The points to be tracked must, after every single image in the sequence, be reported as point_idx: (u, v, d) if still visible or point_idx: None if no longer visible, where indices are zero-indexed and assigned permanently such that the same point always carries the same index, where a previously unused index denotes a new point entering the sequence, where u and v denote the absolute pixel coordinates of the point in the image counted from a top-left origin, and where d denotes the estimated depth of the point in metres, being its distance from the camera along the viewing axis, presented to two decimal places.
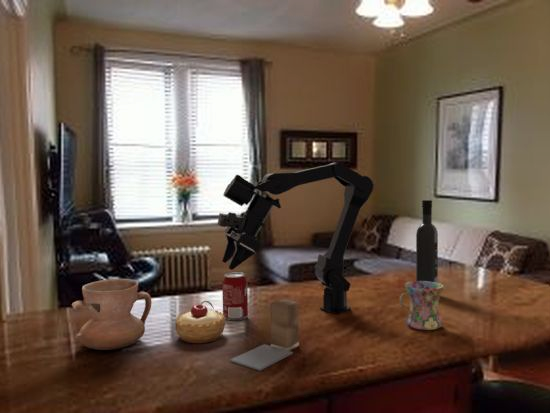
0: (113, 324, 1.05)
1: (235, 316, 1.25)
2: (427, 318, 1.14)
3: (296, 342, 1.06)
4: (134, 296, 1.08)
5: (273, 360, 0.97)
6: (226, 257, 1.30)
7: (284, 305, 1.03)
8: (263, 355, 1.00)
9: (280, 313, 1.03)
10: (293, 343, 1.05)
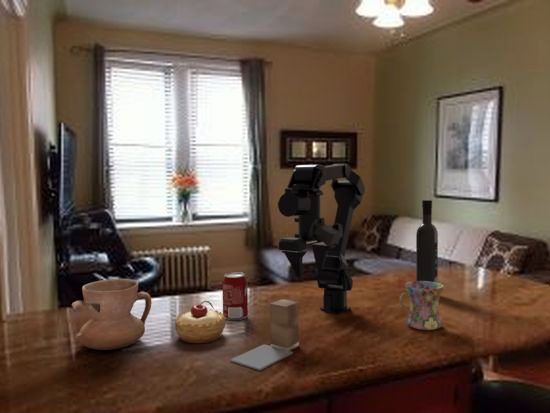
0: (113, 324, 1.05)
1: (235, 316, 1.25)
2: (427, 318, 1.14)
3: (296, 342, 1.06)
4: (134, 296, 1.08)
5: (273, 360, 0.97)
6: None
7: (284, 305, 1.03)
8: (263, 355, 1.00)
9: (280, 313, 1.03)
10: (293, 343, 1.05)
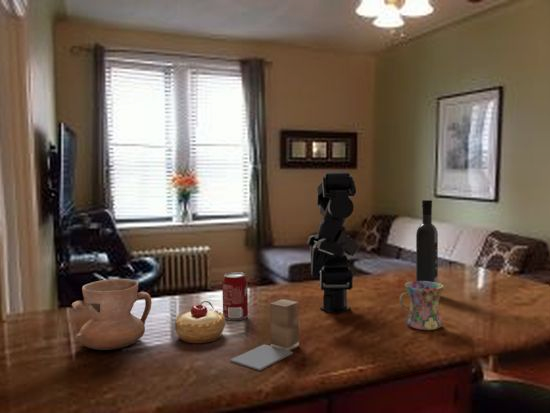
0: (113, 324, 1.05)
1: (235, 316, 1.25)
2: (427, 318, 1.14)
3: (296, 342, 1.06)
4: (134, 296, 1.08)
5: (273, 360, 0.97)
6: None
7: (284, 305, 1.03)
8: (263, 355, 1.00)
9: (280, 313, 1.03)
10: (293, 343, 1.05)
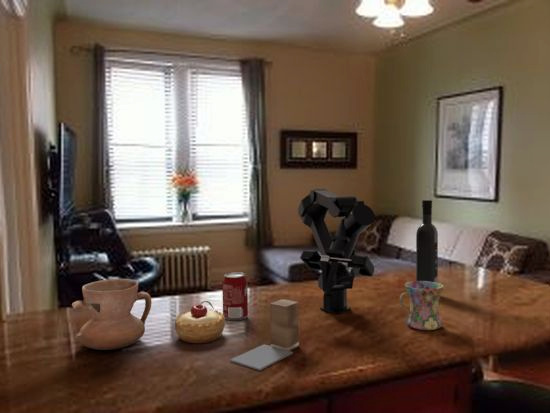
0: (113, 324, 1.05)
1: (235, 316, 1.25)
2: (427, 318, 1.14)
3: (296, 342, 1.06)
4: (134, 296, 1.08)
5: (273, 360, 0.97)
6: None
7: (284, 305, 1.03)
8: (263, 355, 1.00)
9: (280, 313, 1.03)
10: (293, 343, 1.05)
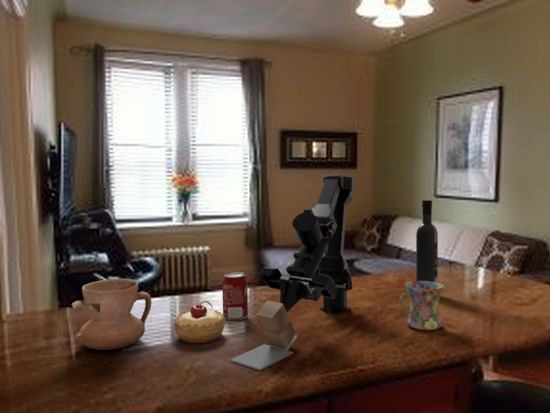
0: (113, 324, 1.05)
1: (235, 316, 1.25)
2: (427, 318, 1.14)
3: (293, 336, 1.05)
4: (134, 296, 1.08)
5: (273, 360, 0.97)
6: None
7: (270, 315, 0.99)
8: (263, 355, 1.00)
9: (268, 323, 1.00)
10: (291, 339, 1.04)
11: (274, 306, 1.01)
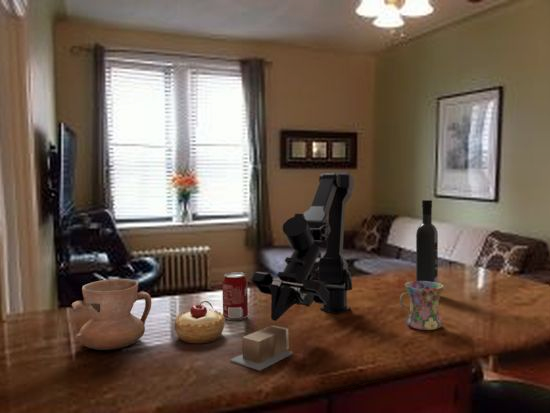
0: (113, 324, 1.05)
1: (235, 316, 1.25)
2: (427, 318, 1.14)
3: (285, 333, 1.02)
4: (134, 296, 1.08)
5: (273, 360, 0.97)
6: None
7: (255, 359, 0.96)
8: None
9: None
10: (285, 339, 1.02)
11: (253, 346, 0.96)
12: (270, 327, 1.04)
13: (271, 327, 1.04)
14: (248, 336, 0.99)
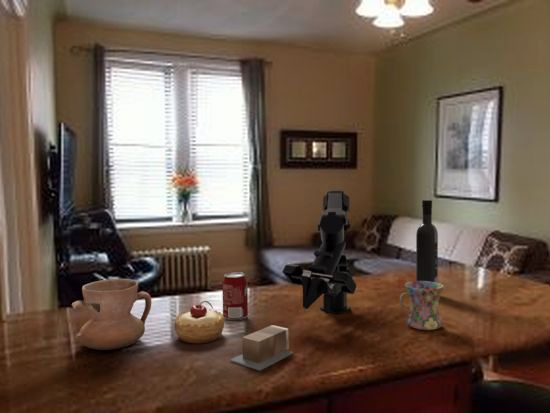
0: (113, 323, 1.05)
1: (235, 316, 1.25)
2: (427, 318, 1.14)
3: (285, 333, 1.02)
4: (134, 296, 1.08)
5: (273, 360, 0.97)
6: None
7: (255, 359, 0.96)
8: None
9: None
10: (285, 339, 1.02)
11: (253, 346, 0.96)
12: (270, 327, 1.04)
13: (271, 327, 1.04)
14: (248, 336, 0.99)
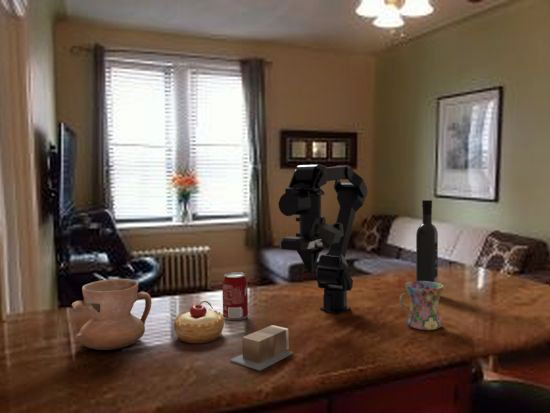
0: (113, 324, 1.05)
1: (235, 316, 1.25)
2: (427, 318, 1.14)
3: (285, 333, 1.02)
4: (134, 296, 1.08)
5: (273, 360, 0.97)
6: None
7: (255, 359, 0.96)
8: None
9: None
10: (285, 339, 1.02)
11: (253, 346, 0.96)
12: (270, 327, 1.04)
13: (271, 327, 1.04)
14: (248, 336, 0.99)
